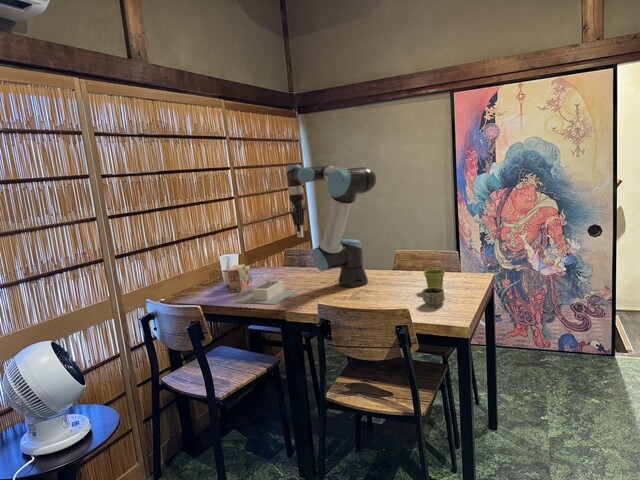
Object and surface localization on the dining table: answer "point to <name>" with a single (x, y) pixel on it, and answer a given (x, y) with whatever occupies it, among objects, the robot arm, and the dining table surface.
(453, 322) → the dining table surface
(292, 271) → the dining table surface
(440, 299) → the vessel
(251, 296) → the rubber mat
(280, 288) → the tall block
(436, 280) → the plant pot
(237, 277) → the multicoloured rectangular box
